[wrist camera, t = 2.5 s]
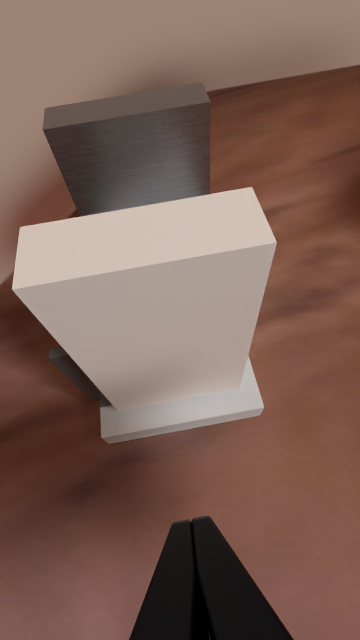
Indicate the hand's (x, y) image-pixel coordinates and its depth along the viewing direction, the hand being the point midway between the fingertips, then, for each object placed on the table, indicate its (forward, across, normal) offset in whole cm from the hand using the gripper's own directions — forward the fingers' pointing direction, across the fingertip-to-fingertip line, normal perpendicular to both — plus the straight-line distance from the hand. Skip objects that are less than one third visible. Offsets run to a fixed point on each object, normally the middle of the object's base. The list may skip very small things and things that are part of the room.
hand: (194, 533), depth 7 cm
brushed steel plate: (+18, 0, -7) cm, 19 cm away
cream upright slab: (+10, +1, 0) cm, 10 cm away
